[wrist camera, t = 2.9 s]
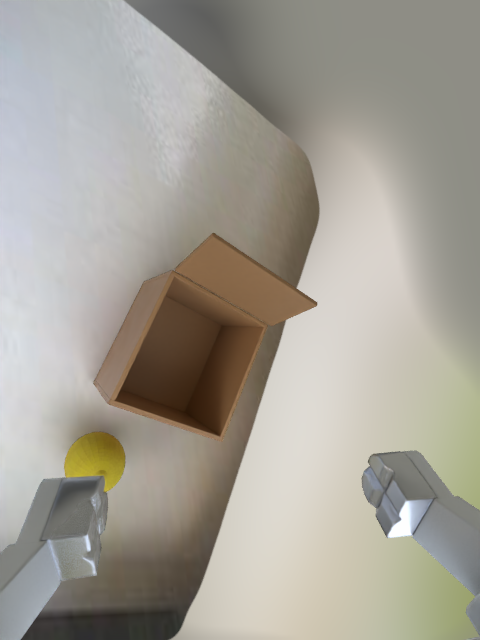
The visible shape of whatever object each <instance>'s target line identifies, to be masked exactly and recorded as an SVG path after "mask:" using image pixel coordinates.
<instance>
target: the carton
mask: <svg viewBox="0 0 480 640" xmlns="http://www.w3.org/2000/svg"><path fill="white" fill-rule="evenodd" d="M267 327H268V325H267V324H265V323H264V322H262V321H260V320H259V319H257V318H255V317H253V316H252V315H250V314H248V313H246V312H245V311H243V310H241V309H239V308H238V307H236V306H234V305H232V304H231V303H229V302H227V301H225V300H224V299H222V298H220V297H218V296H217V295H215V294H213V293H211V292H210V291H208V290H206V289H204V288H203V287H201V286H199V285H197V284H196V283H194V282H192V281H190V280H189V279H187V278H185V277H183V276H182V275H180V274H178V273H176V272H175V271H173V270H171V271H169V272H166V273H164V274H161V275H159V276H157V277H154V278H152V279H149V280H147V281H144V282H143V284H142V286H141V288H140V290H139V292H138V294H137V296H136V298H135V300H134V302H133V304H132V306H131V308H130V310H129V312H128V314H127V316H126V318H125V320H124V322H123V324H122V326H121V329H120V331H119V333H118V335H117V337H116V339H115V341H114V343H113V345H112V347H111V349H110V351H109V353H108V355H107V357H106V359H105V361H104V363H103V365H102V367H101V369H100V371H99V373H98V375H97V377H96V379H95V381H94V383H93V384H94V385H95V387H96V388H97V389H98V391H99V392H100V394H101V395H102V396H103V398H104V399H105V401H106V402H107V403H108V404H109V405H112V406H115V407H118V408H121V409H124V410H127V411H130V412H133V413H136V414H139V415H142V416H145V417H148V418H151V419H154V420H157V421H160V422H163V423H166V424H169V425H172V426H175V427H178V428H181V429H184V430H187V431H190V432H193V433H196V434H199V435H202V436H205V437H208V438H211V439H214V440H217V441H221V442H222V441H223V439H224V438H223V437H224V436H225V433H226V431H227V428H228V426H229V423H230V421H231V418H232V416H233V413H234V411H235V408H236V406H237V403H238V400H239V398H240V395H241V393H242V390H243V388H244V385H245V383H246V380H247V378H248V375H249V373H250V370H251V367H252V365H253V362H254V360H255V357H256V355H257V352H258V350H259V347H260V345H261V342H262V340H263V337H264V334H265V332H266V329H267Z"/></svg>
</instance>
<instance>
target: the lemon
mask: <svg viewBox="0 0 480 640" xmlns="http://www.w3.org/2000/svg"><path fill="white" fill-rule="evenodd" d="M124 467H125V453H124V450H123V447H122V445H121V444H120V442H119V441H118V440H117V439H116V438H115V437H114V436H112V435H110V434H108V433H104V432H92V433H89V434H86V435H84V436H82V437H81V438H79V439H78V440H77V441H76V442H75V443H74V444H73V445H72V446H71V448H70V449H69V451H68V454H67V456H66V459H65V465H64V469H65V476H66V478H67V477H85V476H103V475H104V479H105V487H104V492H107V491H109V490H110V489H111V488H113V487H114V486H115V485H116V484H117V482H118V481H119V480H120V478H121V476H122V474H123V471H124Z"/></svg>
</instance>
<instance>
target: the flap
mask: <svg viewBox="0 0 480 640" xmlns="http://www.w3.org/2000/svg"><path fill="white" fill-rule="evenodd" d="M175 271H177V272H178V273H180V274H182V275H184V276H185V277H187V278H189V279H190V280H192V281H194V282H196V283H197V284H199V285H201V286H203V287H204V288H206V289H208V290H210V291H211V292H213V293H215V294H217V295H218V296H220V297H222V298H224V299H225V300H227V301H229V302H231V303H232V304H234V305H236V306H237V307H239V308H241V309H243V310H244V311H246V312H248V313H250V314H251V315H253V316H255V317H257V318H258V319H260V320H262V321H264V322H265V323H267V324H269V325H271V326H273V325H275V324H277V323H280V322H282V321H284V320H286V319H289V318H291V317H293V316H295V315H298V314H300V313H302V312H304V311H307V310H309V309H311V308H314V307H316V306H317V302H316V301H314V300H313V299H311V298H310V297H308V296H307V295H305V294H304V293H302V292H301V291H299V290H298V289H296V288H295V287H293V286H292V285H290V284H289V283H287V282H286V281H284V280H283V279H282V278H280V277H279V276H277V275H276V274H274V273H273V272H271V271H270V270H268V269H267V268H265V267H264V266H262V265H261V264H259V263H258V262H256V261H255V260H253V259H252V258H250V257H249V256H247V255H246V254H244V253H243V252H241V251H240V250H238V249H237V248H236V247H234V246H233V245H231V244H230V243H228V242H227V241H225V240H224V239H222V238H221V237H219V236H218V235H216V234H215V233H212V234H211V235H210V236H209V237H208V238H207V239H206V240H205V241H204V242H203V243H202V244H200V245H199V246H198V247H197V248H196V249H195V250H194V251H193V252H192V253H191V254H190V255H189V256H188V257H187V258H186V259H184V260H183V261H182V262H181V263H180V264H179V265H178V266H177V267H176V269H175Z"/></svg>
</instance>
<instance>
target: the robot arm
mask: <svg viewBox="0 0 480 640" xmlns="http://www.w3.org/2000/svg"><path fill="white" fill-rule="evenodd" d="M368 463H369V465H370V467H368V468H367V469H366V470H365V471H364V473H363V476H362V488H363V491H364V494H365V496H366V498H367V500H368V502H369V503H370V504H372V505H373V506H374V507H375V508H377V509H376V517H377V520H378V521H379V523H380V525H381V527H382V529H383V531H384V533H385V535H386V537H387V538H391V537H402V536H412V535H413V538H414V539H415V540H416V541H417V542H418V543H419V544H420V545H421V546H422V547H423V548H424V549H426V550H427V551H428V552H429V553H430V554H431V555H432V556H433V557H434V558H435V559H436V560H437V561H438V562H439V563H441V564H442V565H443V566H444V567H445V568H446V569H447V570H448V571H449V572H450V573H451V574H452V575H453V576H454V577H456V578H457V579H458V580H459V581H460V582H461V583H462V584H463V585H464V586H465V587H466V588H467V589H468V590H469V591H470V592H472V594H473V595H475V596H476V597H475V598H474V599H473V600H472V601H471V602H470V604H469V605H468V606H467V608H466V614H467V615H468V617H469V618H470V621H471V622H472V624H473V626H474V627H475V629H476V631H477V632H478V634H479V636H480V510H478V509H477V508H475V507H474V506H472V505H470V504H469V503H468V502H466V501H465V500H463V499H462V498H460V497H458V496H456V497H454V496H453V495H452V493H451V492H450V491H449V490H448V488H447V487H446V486H445V484H444V483H443V482H442V480H441V479H440V478H439V477H438V475H437V474H436V472H435V471H434V470H433V469H432V468H431V466H430V465H429V463H428V462H427V461H426V459H425V458H424V457H423V455H422V454H421V453H419V452H418V451H405V452H400V451H399V452H388V453H378V454H373V455H371V456H370V458H369V460H368ZM104 487H105V479H104V475H103V476H85V477H67V478H51V479H43V481H42V482H41V484H40V485H39V487H38V489H37V492H36V494H35V497H34V499H33V502H32V504H31V507H30V509H29V512H28V514H27V517H26V519H25V522H24V524H23V527H22V529H21V532H20V534H19V536H18V539H17V541H16V544H10V545H8V546H7V547H6V548H5V549H4V550H3V551H2V552H1V553H0V640H20V639H21V638H22V637H23V635H24V634H25V632H26V631H27V630H28V628H29V627H30V625H31V624H32V623H33V621H34V620H35V618H36V617H37V616H38V614H39V613H40V611H41V610H42V609H43V607H44V606H45V604H46V603H47V602H48V600H49V599H50V598H51V596H52V595H53V593H54V592H55V591H56V589H57V588H58V586H59V585H60V584H61V582H60V581H62V580H69V579H75V578H81V577H88V576H94V575H96V573H97V568H98V563H99V558H100V553H101V548H102V547H101V541H100V535H101V534H102V533H103V531H104V530H105V526H106V520H107V511H108V498H107V493H106V492H104ZM465 640H480V637H475V638H470V639H465Z"/></svg>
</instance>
